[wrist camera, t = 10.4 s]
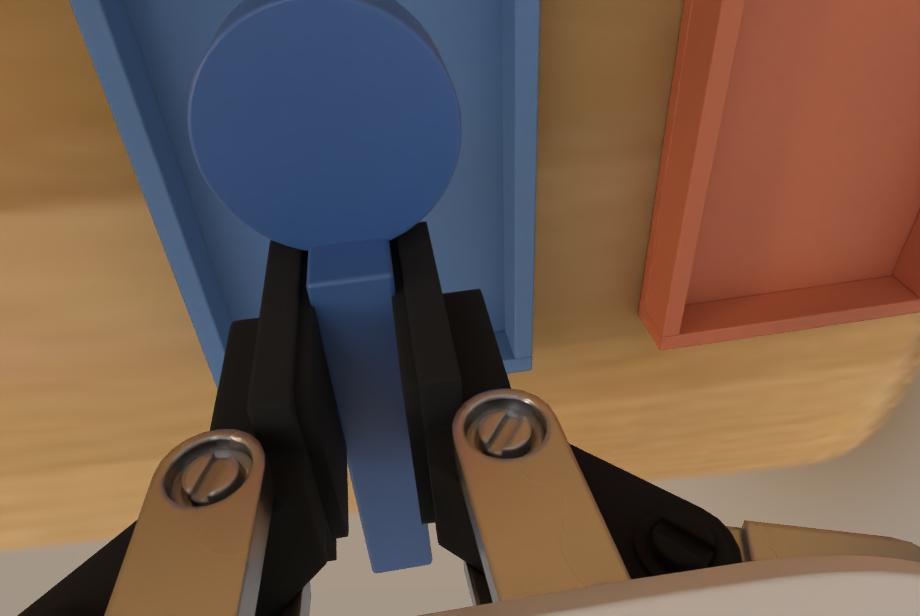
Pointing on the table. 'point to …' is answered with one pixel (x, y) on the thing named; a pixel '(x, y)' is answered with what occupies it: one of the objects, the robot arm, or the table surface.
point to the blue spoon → (337, 200)
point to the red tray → (787, 171)
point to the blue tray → (245, 251)
